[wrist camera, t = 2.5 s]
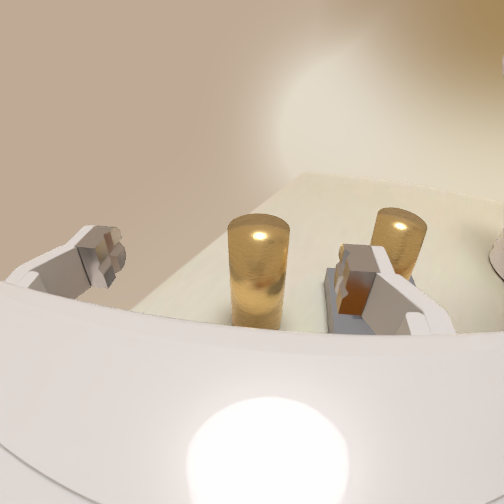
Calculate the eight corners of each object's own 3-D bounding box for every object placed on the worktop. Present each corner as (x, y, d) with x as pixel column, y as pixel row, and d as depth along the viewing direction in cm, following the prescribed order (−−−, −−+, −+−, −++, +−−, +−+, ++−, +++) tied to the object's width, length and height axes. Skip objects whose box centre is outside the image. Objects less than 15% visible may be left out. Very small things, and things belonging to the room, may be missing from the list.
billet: (281, 305, 32) (290, 215, 26) (279, 341, 28) (289, 247, 21) (236, 301, 32) (233, 212, 26) (228, 336, 28) (221, 242, 22)
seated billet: (389, 292, 32) (416, 210, 26) (399, 323, 28) (435, 236, 22) (351, 290, 33) (372, 205, 26) (356, 322, 29) (385, 231, 22)
